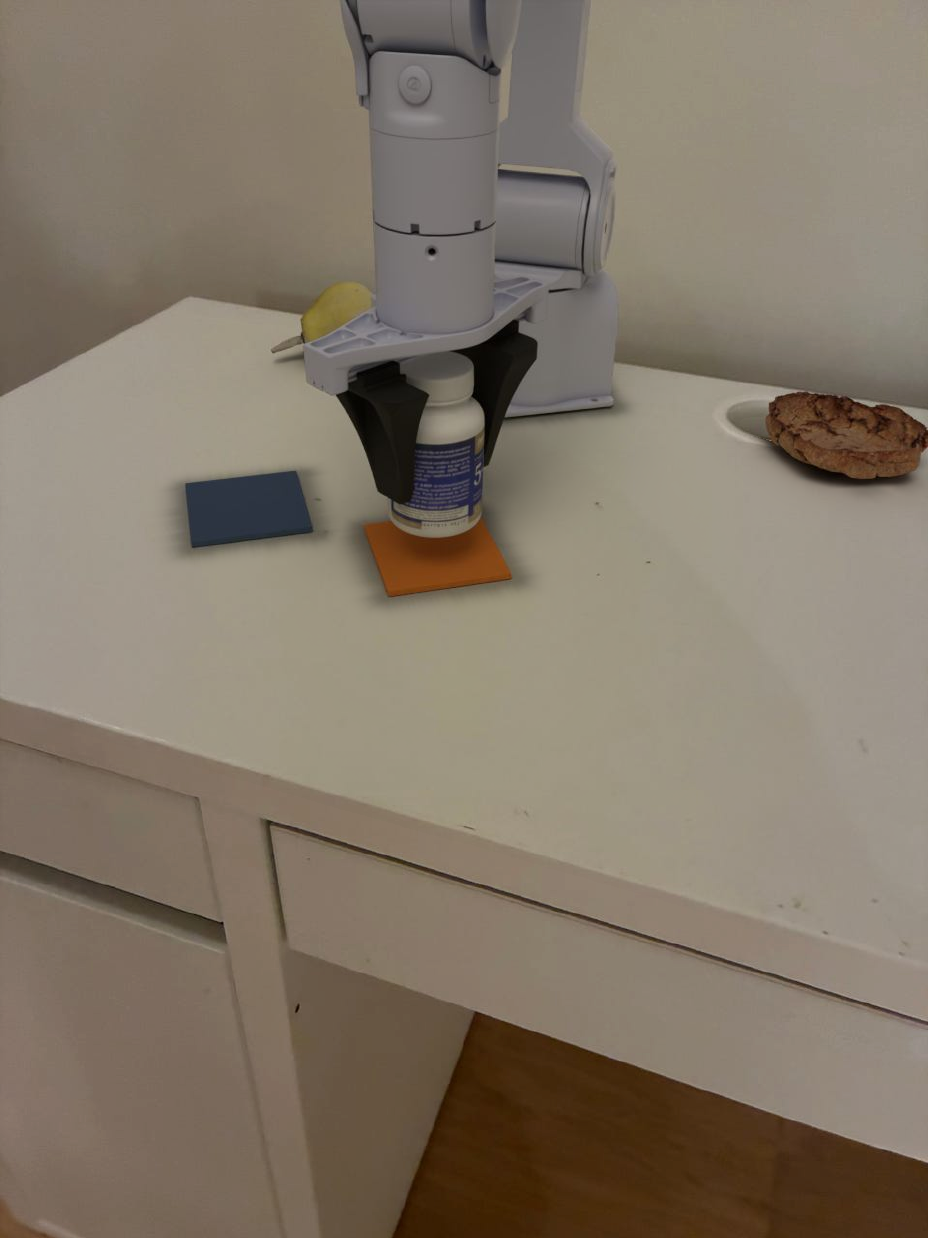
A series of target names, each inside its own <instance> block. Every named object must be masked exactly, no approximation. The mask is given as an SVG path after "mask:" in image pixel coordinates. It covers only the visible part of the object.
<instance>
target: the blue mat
mask: <svg viewBox="0 0 928 1238" xmlns="http://www.w3.org/2000/svg"><path fill="white" fill-rule="evenodd" d="M184 486H185V487H184V488H185V496H186V497H185V498H186V507H187V517H188V526H189V527H188V528H189V537H190V545H191V548H197V547H205V546H206V547H207V546H212V545H213V546H214V545H219V544H221V545H222V544H228V543H236V542H245V541H251V540H258V539H260V540H261V539H266V538H274V537H282V536H290V535H291V536H292V535H297V534H306V533H312V532H313V525H312V522H311V517H310V514H309V511H308V507H307V504H306V500H305V497H304V493H303V489H302V486H301V482H300V479H299V476H298V471H297V470H289V471H281V472H271V473H262V474H252V475H246V476H237V477H227V478H217V479H210V480H201V481H193V482H192V481H191V482H185V483H184Z"/></svg>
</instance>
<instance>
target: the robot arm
mask: <svg viewBox="0 0 928 1238" xmlns="http://www.w3.org/2000/svg"><path fill="white" fill-rule="evenodd" d="M339 3H340V5H339V6H340V11H341V19H342V23H343V28H344V32H345V36H346V40H347V42H348V45H349V49H350V51H351V55H352V59H353V66H354V78H355V95H356V96H358V97H357V98H358V104H359V106H360V107H361V108H364V109H365V110H368V129H369V130H368V131H369V153H370V155H369V156H370V180H371V206H372V207H371V208H372V228H373V234H372V235H373V249H374V251H373V253H374V276H375V279H374V280H375V293H372V294H373V295H371V308H370V309H369V310H367V311H365V312H364V313H362V314H361V315H359V316H357V317H356V318H354V319H352V320H351V321H349V322H348V323H346V324H344V325H343V326H341V327H339V328H338V329H336V330H335V331H333V332H331V333H329V334H328V335H326V336H323V337H321V338H319V339H317V340H314V341H311V342H308V343H305V344H302V345H303V347H302V348H303V358H304V371H305V382H306V384H308V385H310V386H312V387H314V388H315V389H317V390H319V391H320V392H324V393H326V394H327V395H329V396H331V397H334V396H335V397H336V398H337V400H338V401H339V403H340V405H341V406H342V408H343V409H344V411H345V413H346V414H347V416H348V417H349V419H350V421H351V423H352V425H353V427H354V429H355V431H356V433H357V435H358V439H359V440H360V443H361V445H362V448H363V450H364V453H365V455H366V458H367V461H368V464H369V467H370V470H371V474H372V476H373V481H374V483H375V488H376V490H377V492H378V493H379V494H381V495H383V496H384V497H386V498H387V499H388V498H389V499H391V500H393V501H394V502H396V503H398V504H404V503H407V502H409V501H411V498H412V494H413V489H414V474H415V446H416V439H417V433H418V429H419V424H420V420H421V417H422V414H423V410H424V408H425V405H426V403H427V400H428V398H429V396H430V395H429V394H428V393H427V392H425V391H423V390H421V389H419V388H417V387H414V386H412V385H410V384H408V383H406V374H400V364H403V363H406V362H409V361H411V360H414V359H417V358H420V357H423V356H426V355H429V354H432V353H438V352H445V351H450V352H455V353H458V354H461V355H463V356H466V357H467V358H469V359H470V360H471V361H472V363H473V366H474V387H473V393H472V395H471V397H473V398H474V399H475V400H476V401H477V402H478V403H479V404H480V406H481V407H482V409H483V412H484V422H485V428H484V465H483V468H485V467H488V466H490V462H491V460H492V457H493V454H494V451H495V448H496V444H497V441H498V437H499V435H500V432H501V428H502V426H503V423H504V420H505V418H514V417H523V416H532V415H541V414H548V413H549V414H551V413H560V412H568V411H579V410H586V409H597V408H605V407H611V406H613V405H614V403H615V402H614V401H615V399H614V397H613V396H612V395H611V393H612V384H613V383H612V382H613V375H614V374H613V373H614V366H615V365H614V364H615V356H616V350H617V349H616V348H617V339H618V329H619V319H620V318H619V317H620V316H619V315H620V312H619V299H618V298H619V297H618V292H617V287H616V285H615V282H614V280H613V278H612V276H611V275H610V274H609V272H608V271H607V270H605V269H604V268H605V266H606V263H607V261H608V257H609V253H610V248H611V243H612V239H613V231H614V224H615V215H616V179H617V178H616V177H617V169H618V167H617V166H618V165H617V161H616V160H615V155H614V152H613V150H612V149H611V148H610V146H609V145H608V144H607V143H606V142H605V141H604V140H603V139H602V138H601V137H600V136H599V135H598V134H597V133H596V132H595V131H594V129H592V128H591V127H590V126H589V125H588V124H587V122H585V121H584V119H583V118H582V117H581V106H582V97H583V86H584V76H585V69H586V68H585V66H586V58H587V56H586V55H587V47H588V38H589V27H590V17H591V7H592V0H339ZM510 59H511V62H510V63H511V65H510V67H511V68H510V78H509V79H510V80H509V81H510V82H509V94H508V106H507V107H508V109H507V117H506V118H504V119H503V120H502V121H500V118H501V91H502V90H501V87H502V85H501V84H502V69H504V68H505V67H506V66H507V64H508V63H509V61H510ZM502 165H511V166H523V167H532V168H533V167H534V168H544V169H557V170H567V171H571V172H575V173H577V174H579V175H574V174H573V175H570V174H559V173H551V172H549V173H548V172H538V171H528V170H516V169H505V168H504V169H503V168H500V167H501V166H502Z"/></svg>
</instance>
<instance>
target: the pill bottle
mask: <svg viewBox="0 0 928 1238" xmlns="http://www.w3.org/2000/svg"><path fill="white" fill-rule="evenodd" d="M400 374H406V383H408V384H410V385H412V386H414V387H417V388H419V389H421V390H423V391H425V392H427V393H428V394H429V395H430V396H429V398H428V400H427V403H426V405H425V408H424V410H423V414H422V417H421V420H420V424H419V429H418V433H417V439H416V446H415V474H414V489H413V494H412V498H411V501H409V502H407V503H404V504H398V503H396V502H394V501H393V500H391V499H389V498H388V497H387V512H388V517H389V520H390V521H392V522H393V524H394V525H396V526H397V527H398V528H399V529H401V530H403V531H405V532H407V533H409V534H412V535H416V536H421V537H429V538H442V537H450V536H454V535H458V534H461V533H463V532H465V531H467V530H469V529H471V528H472V527H473V526H475V525H476V523H477V522H478V521H479V519H480V517H481V518H482V512H483V487H484V467H483V465H484V428H485V422H484V412H483V409H482V407H481V406H480V404H479V403H478V402H477V401H476V400H475V399H474V398H473V397H471V395H472V393H473V387H474V366H473V363H472V361H471V360H470V359H469V358H467V357H466V356H463V355H461V354H458V353H455V352H450V351H445V352H438V353H432V354H429V355H426V356H423V357H420V358H417V359H414V360H411V361H409V362H406V363H403V364H400Z"/></svg>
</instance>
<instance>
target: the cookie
mask: <svg viewBox="0 0 928 1238" xmlns="http://www.w3.org/2000/svg"><path fill="white" fill-rule="evenodd" d="M768 413H769V414H768V415H766V416H765V427H766V432H767V434H768V436H769V438H770V440H771V441H772V443H773V444H774V445H776V446H778V447H779V446H780V447H781V448H782V449H783V450H784V451H785V452H786V453H787V454H789V455H790V456H791V457H792V458H794V459H795V460H798V461H800V462H802V463H803V464H804V463H805V464H808V465H811V466H815V467H817V468H819V469H823V470H826V471H829V472H831V473H842V474H844V475H845V476H847V477H849V478H852V479H858V480H866V479H867V480H870V479H875V478H876V477H880V478H883V477H885V478H886V477H888V478H891V477H892V478H893V477H896V476H897V477H898V476H902V475H905V474H910V473H913V472H914V471H916V470H917V469H918V467H919V466H920V462H921V456H922V454H921V453H924V452H925V450H927V448H928V426H927V427H926V425H925V424H924V423H922V422H921V421H919V420H917V419H915V418H914V417H913V416H911V414H909V413H907V412H905V411H904V410H903V409H902V408H900V407H897V406H895V405H888V404H884V403H881V404H875V405H874V406H870V405H867V404H865V403H861V402H859V401H855V400H854V399H852V398H850V397H848V396H847V395H844V396H842V395H841V396H839V395H838V394H833V395H832V394H824V393H820V394H819V393H818V392H815V393H814V392H813V393H811V392H809V391H807V390H805V391H797V392H790V393H786V394H783V395H782V394H781V395H777V396H775V397H774V399H773V400H772V401H771V402H768Z"/></svg>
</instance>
